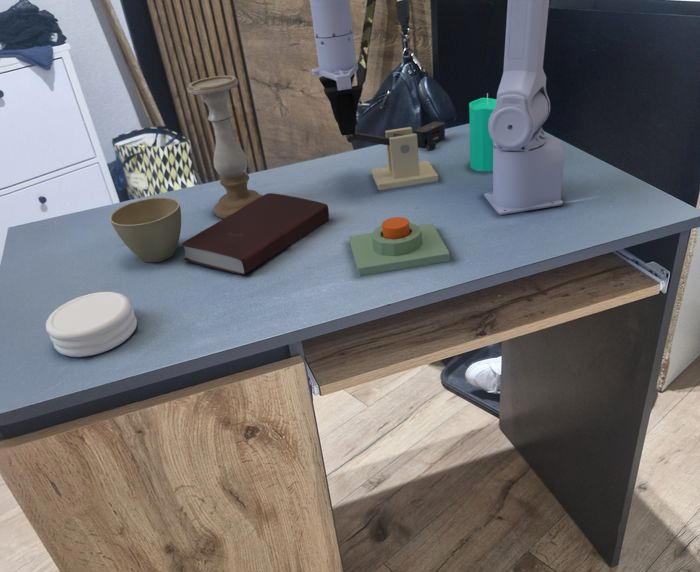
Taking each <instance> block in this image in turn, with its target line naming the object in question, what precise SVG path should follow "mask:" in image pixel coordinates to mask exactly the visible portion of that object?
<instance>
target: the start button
mask: <svg viewBox="0 0 700 572" xmlns="http://www.w3.org/2000/svg"><path fill="white" fill-rule="evenodd" d="M409 223H410V220H409V219H407V218H406V217H401V216H397V217H396V216H395V217H390V218H386V219H385V220H383V221H382V223H381V226H382V231H383V237H384V238H386V239H401V238H404V237H407V236H409V235H410V228H409Z"/></svg>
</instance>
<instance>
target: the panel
mask: <svg viewBox="0 0 700 572" xmlns="http://www.w3.org/2000/svg"><path fill="white" fill-rule="evenodd" d="M409 228H410V235H409V236H407V237H404V238H401V239H386V238H384V237H383V231H382V225H379V226H378V227H376V228H375V229H374V230H373V231H372V232H369V233H364V234H363V233H362V234H357V235H350V236H349V237H348V238H349V245H350V248H351V252H352V256H353V259H354V263H355V266H356V271H357V274H358V276H359V277H363V276H368V275H374V274H375V275H376V274H380V273H387V272H393V271H400V270H404V269H410V268H411V269H412V268H417V267H422V266H429V265H435V264H442V263H447V262H451V253H450V251H449V250H448V248H447V246H446V244H445V242H444V240H443V239H442V237H441V235H440V233H439V232H438V230H437V229H436V227H435V224H434V223H433V222H431V223H430V222H429V223H425V224H418V225H417V224H415V223H412V222H409Z"/></svg>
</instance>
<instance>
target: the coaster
mask: <svg viewBox="0 0 700 572" xmlns="http://www.w3.org/2000/svg"><path fill="white" fill-rule="evenodd" d="M137 325H138V319H137V316H136V315H135V311H134V309H133V307H132V302H131V300H130V299H129V298H128V297H127V296H126V295H124V294H123V293H119V292H115V291H97V292H92V293H89V294H84V295H81V296H78V297H76V298H73V299H71V300H69V301H67V302H65V303H63V304H62V305H60V306H59V307H57V308H56V309H54V310H53V311H52V312H51V314H50V315H49V316H48V318H47V320H46V322H45V330H46V332H47V334H48V335H49V339H50V341H51V343H52V344H53V348H54V349H55V350H56V351H57V353H59V354H61V355H63V356H65V357H66V356H67V357H71V358H84V357H85V358H87V357H92V356H95V355H99V354H102V353H105V352H107V351H110V350H113V349H114V348H116V347H119V346H120V345H121V344H123V343H125V342H126V341H127V340H128V339H129V338H130V337H131V336H132V335H133V333H134V332H135V330H136V329H137Z"/></svg>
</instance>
